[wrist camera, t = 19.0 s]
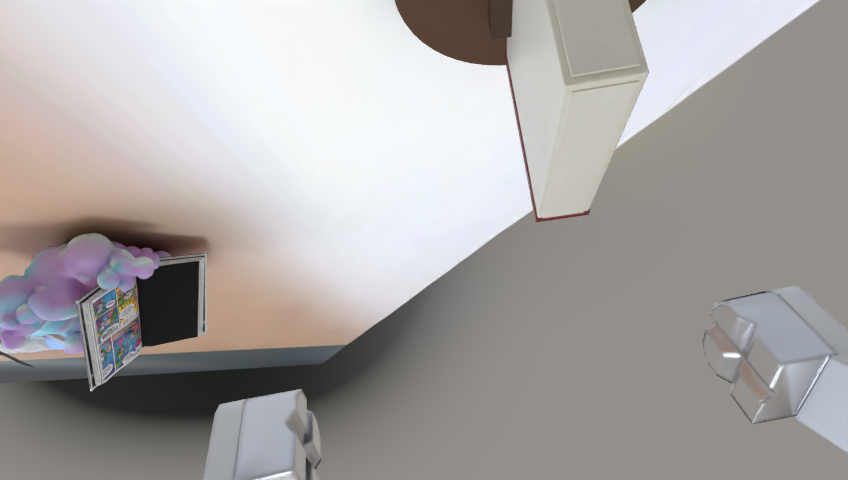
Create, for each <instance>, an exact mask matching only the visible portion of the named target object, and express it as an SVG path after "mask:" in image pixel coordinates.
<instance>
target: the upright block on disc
mask: <svg viewBox="0 0 848 480" xmlns="http://www.w3.org/2000/svg"><path fill="white" fill-rule="evenodd" d="M645 1H646V0H395V3H396V6H397V8H398V11H399V13H400V15H401V17H402V18H403V20H404V22H405V24H406V25H407V26H408V27H409V29H410V30H411V31H412V33H413V34H414V35H415V36H417V37H418V38H419V39H420V40H421V41H422V42H423V43H425V44H426V45H427V46H429V47H430V48H432V49H433V50H435V51H437V52H439V53H441V54H443V55H445V56H448V57H451V58H454V59H456V60H460V61H464V62H468V63H474V64H482V65H506V67H507V72H508V78H509V83H510V88H511V94H512V99H513V104H514V110H515V115H516V120H517V126H518V131H519V136H520V142H521V147H522V152H523V158H524V163H525V168H526V174H527V179H528V184H529V190H530V195H531V200H532V206H533V211H534V216H535V221H536V222H540V221H547V220H554V219H561V218H568V217H575V216H582V215H588V214H589V212H590V209H589V207H590V205H591V202H592V200H593V198H594V196H595V193H596V191H597V189H598V187H599V185H600V182H601V180H602V178H603V175H604V173H605V171H606V169H607V166H608V164H609V162H610V160H611V157H612V155H613V153H614V151H615V148H616V146H617V144H618V141H619V139H620V137H621V135H622V132H623V130H624V128H625V126H626V123H627V121H628V119H629V116H630V114H631V112H632V110H633V107H634V105H635V103H636V101H637V98H638V96H639V94H640V92H641V89H642V87H643V85H644V82H645V80H646V78H647V76H648V73H649V70H648V67H647V63H646V60H645V56H644V53H643V50H642V46H641V43H640V39H639V36H638V33H637V29H636V26H635V22H634V19H633V16H632V13H633V12H634V11H635V10H636V9H637V8H638V7H640V6H641V5H642V4H643V3H644V2H645Z"/></svg>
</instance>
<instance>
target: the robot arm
mask: <svg viewBox="0 0 848 480" xmlns="http://www.w3.org/2000/svg"><path fill="white" fill-rule="evenodd" d="M710 315H711V316H712V318H713V319H714V320H715V321H714V322H713V323H712V324H711V325H710V326H709V327H708V328H707V329H706V330H705V333H704V338H703V347H704V353H705V356H706V359H707V361H708V363H709V365H710V366H711V368H712V369H713V371H714V372H715V374H716V375H717V376H719V377H721V378H722V379H724V380H726V381H728V382H730V383H731V396H732V397H733V399H734V400H735V401H736V403H737V404H738V405H739V407H740V408H741V409H742V411H743V412H744V414H745V415H746V416H747V418H748V419H749V420H750V422H751V423H752V424H756V423H761V422H767V421H772V420H777V419H783V418H788V417H793V416H796V419H797V420H798V421H800V422H802V423H803V424H805V425H806V426H808V427H809V428H811V429H812V430H814V431H815V432H817V433H818V434H820V435H821V436H823V437H824V438H826V439H828V440H829V441H831V442H832V443H834V444H835V445H837V446H838V447H840V448H841V449H843V450H844V451H846V452H847V453H848V331H847V330H846V329H845V328H844V327H843V326H842V325H840V324H839V323H838V322H837V321H836V320H835V319H834V318H833V317H832V316H831V315H830V314H829V313H828V312H827V311H826V310H825V309H824V308H823V307H822V306H821V305H819V304H818V303H817V302H816V301H815V300H814V299H813V298H812V297H811V296H810V295H809V294H808V293H807V292H806V291H805V290H803V289H802V288H799V287H797V286H790V287H785V288H780V289H776V290H771V291H763V292H758V293H754V294H750V295H745V296H741V297H736V298H732V299H727V300H723V301H719V302H718V303H717V304H715V305H714V306H713V309H712V311H711V314H710ZM320 461H321V443H320V435H319V429H318V425H317V422H316V419H315V416H314V414H313V412H311V411H309V410H307V399H306V397H305V395H304V393H303V391H302V389H299V390H294V391H288V392H283V393H277V394H272V395H267V396H261V397H256V398H250V399H245V400H239V401H234V402H230V403H225V404H220V405H219V407H218V409H217V411H216V413H215V417H214V422H213V427H212V433H211V439H210V444H209V450H208V455H207V461H206V467H205V472H204V478H203V480H319V478H318V476H317V474H316V471H315V469H316V468H317V466H318V464H319V463H320Z"/></svg>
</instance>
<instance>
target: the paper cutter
mask: <svg viewBox="0 0 848 480" xmlns="http://www.w3.org/2000/svg"><path fill="white" fill-rule="evenodd" d="M65 339H66V337H64V336H62V335H60V334H48V335H46V336H39V337H30V340H29V343H28V344H27V345H26V346H25V347H23V348H22V349H14V350H9V349H6V348H5V347H4V346H3V344H2V340H0V355H4V356H6V357H8V358H10V359H12V360H14V361H16V362H18V363H21V364H24V365H27V366H31V365H29V364H27V363H25V362H22V361H20V360H18V359H16V358H14V357H12V356H10V355H8V354H5V353H28V352H39V351H45V350H56V349H65V344H64V341H65ZM31 367H33V366H31Z"/></svg>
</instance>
